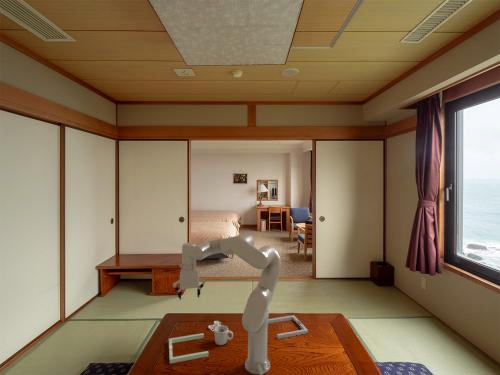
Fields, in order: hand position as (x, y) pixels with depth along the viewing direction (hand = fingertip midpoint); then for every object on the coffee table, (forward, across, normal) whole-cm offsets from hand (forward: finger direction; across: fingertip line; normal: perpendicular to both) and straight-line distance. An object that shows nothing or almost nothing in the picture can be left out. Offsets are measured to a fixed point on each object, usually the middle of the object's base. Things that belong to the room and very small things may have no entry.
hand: (189, 297), depth 151 cm
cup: (+28, +19, 0) cm, 34 cm away
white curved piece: (+29, +17, +20) cm, 39 cm away
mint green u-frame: (+28, 0, 0) cm, 28 cm away
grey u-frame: (+28, +59, +4) cm, 66 cm away
